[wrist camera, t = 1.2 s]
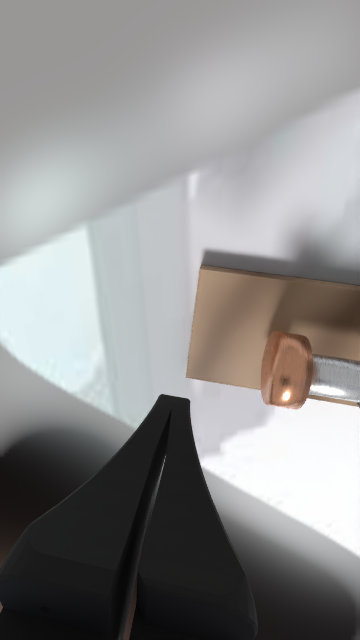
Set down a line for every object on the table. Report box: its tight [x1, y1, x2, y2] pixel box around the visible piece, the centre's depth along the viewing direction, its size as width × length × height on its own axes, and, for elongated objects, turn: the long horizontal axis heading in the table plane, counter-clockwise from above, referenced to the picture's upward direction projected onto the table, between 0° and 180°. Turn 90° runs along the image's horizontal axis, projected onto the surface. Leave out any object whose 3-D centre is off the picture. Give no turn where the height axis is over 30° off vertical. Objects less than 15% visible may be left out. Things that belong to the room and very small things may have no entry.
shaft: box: [261, 331, 360, 409], centre depth 16 cm, size 8×4×4 cm, turn 85°
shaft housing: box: [186, 265, 360, 407], centre depth 16 cm, size 20×9×7 cm, turn 85°
